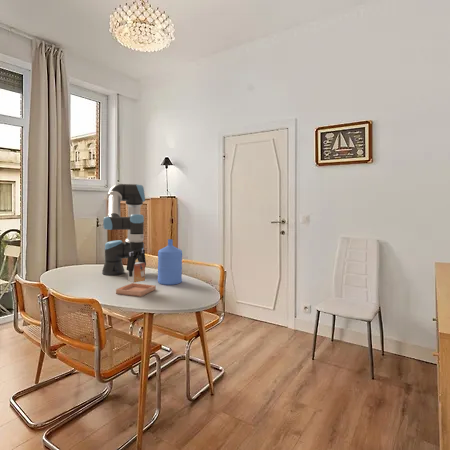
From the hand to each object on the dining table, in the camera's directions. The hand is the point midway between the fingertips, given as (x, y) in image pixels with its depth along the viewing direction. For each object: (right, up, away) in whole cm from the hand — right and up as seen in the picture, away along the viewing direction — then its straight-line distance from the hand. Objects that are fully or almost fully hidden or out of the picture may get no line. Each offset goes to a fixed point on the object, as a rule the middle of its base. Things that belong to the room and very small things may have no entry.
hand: (136, 280), depth 189 cm
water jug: (+15, -6, +25) cm, 30 cm away
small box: (0, -1, 0) cm, 1 cm away
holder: (0, -7, +1) cm, 7 cm away
